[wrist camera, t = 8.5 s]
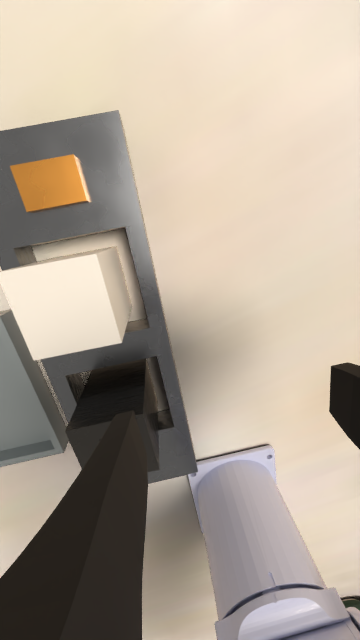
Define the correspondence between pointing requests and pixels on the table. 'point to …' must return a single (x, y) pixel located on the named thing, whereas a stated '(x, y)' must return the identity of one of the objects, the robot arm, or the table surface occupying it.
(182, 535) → the table surface
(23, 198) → the power strip
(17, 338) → the tray
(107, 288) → the plug
